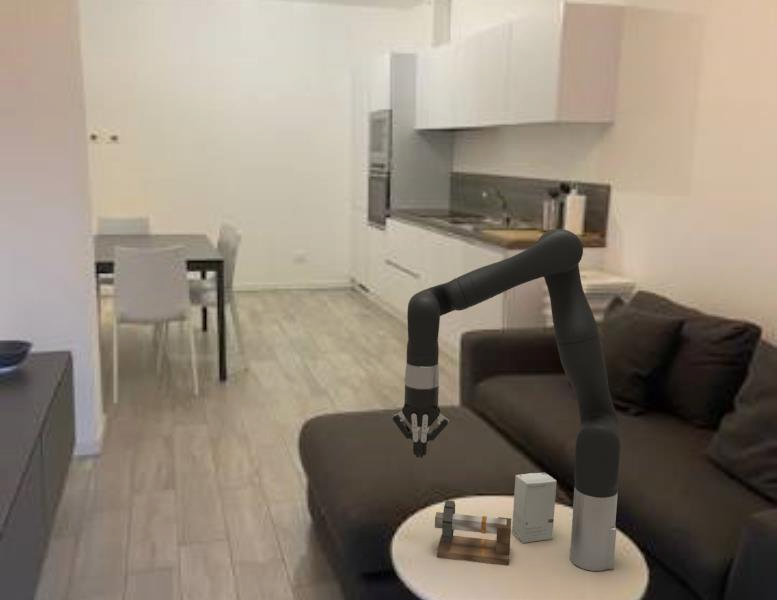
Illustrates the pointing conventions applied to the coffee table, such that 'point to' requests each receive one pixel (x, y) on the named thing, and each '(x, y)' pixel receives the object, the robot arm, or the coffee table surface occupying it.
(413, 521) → the coffee table surface
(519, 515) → the skincare box
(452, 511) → the o ring
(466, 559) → the pipe stand
